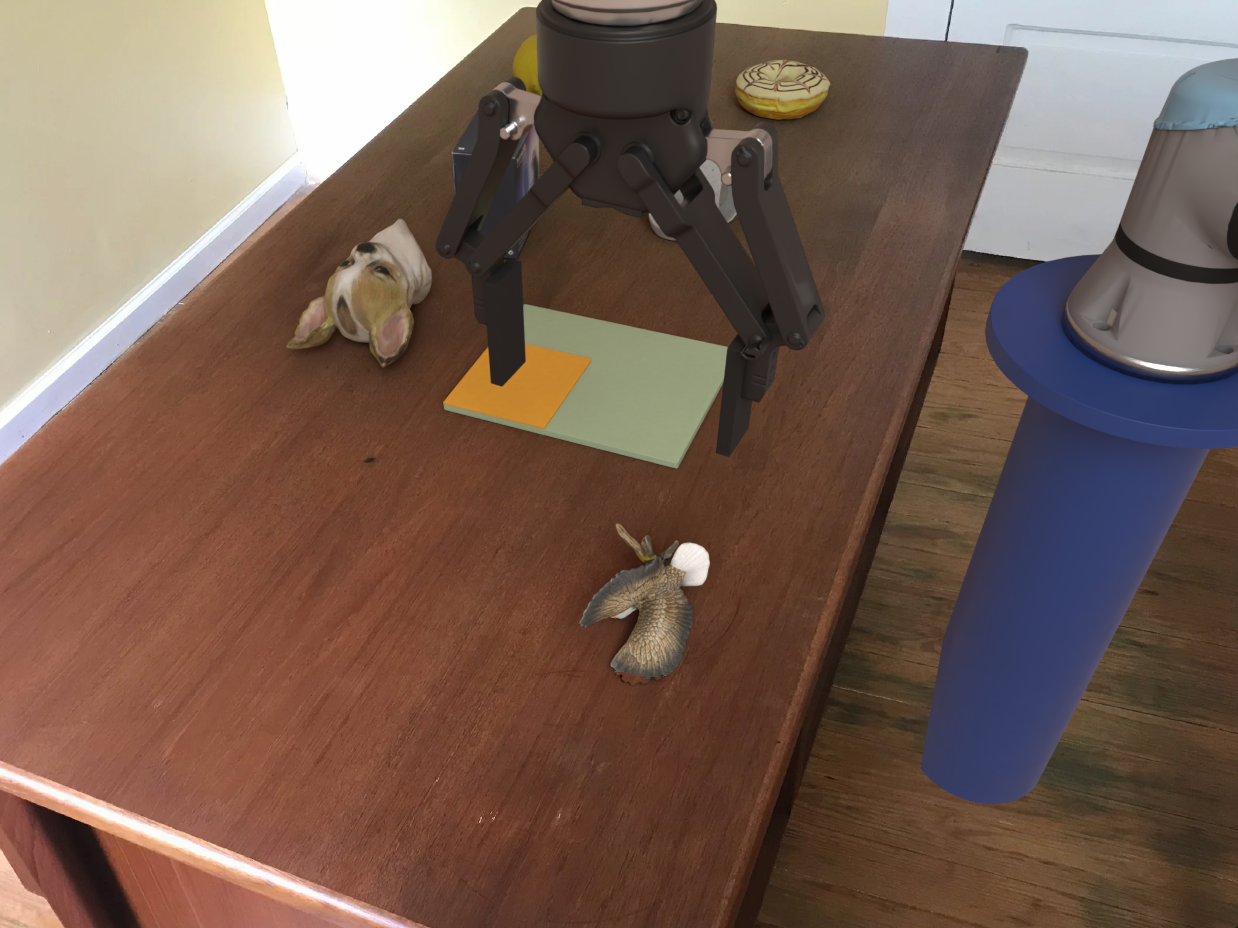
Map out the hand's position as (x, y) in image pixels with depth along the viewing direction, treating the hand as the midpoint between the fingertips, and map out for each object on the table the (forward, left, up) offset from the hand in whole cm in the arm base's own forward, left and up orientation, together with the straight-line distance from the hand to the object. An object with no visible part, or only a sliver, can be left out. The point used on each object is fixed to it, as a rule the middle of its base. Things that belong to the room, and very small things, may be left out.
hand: (615, 405), depth 60 cm
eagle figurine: (-2, 0, -18) cm, 18 cm away
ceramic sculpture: (+32, -24, -18) cm, 44 cm away
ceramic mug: (+12, -53, -18) cm, 57 cm away
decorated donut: (+11, -82, -18) cm, 85 cm away
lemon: (+37, -74, -18) cm, 85 cm away
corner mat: (+11, -24, -18) cm, 32 cm away
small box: (+29, -44, -18) cm, 56 cm away
